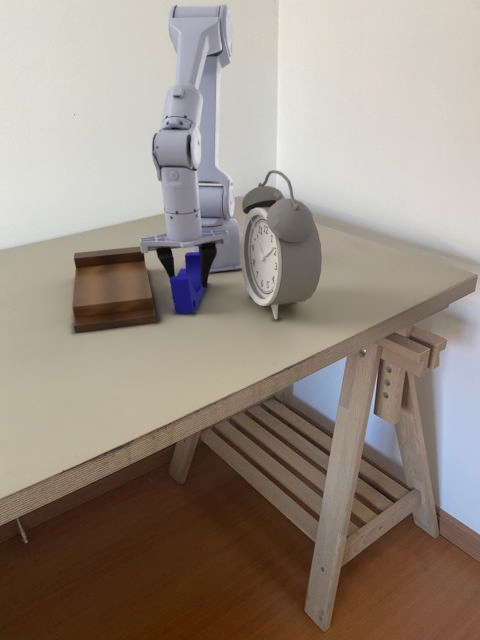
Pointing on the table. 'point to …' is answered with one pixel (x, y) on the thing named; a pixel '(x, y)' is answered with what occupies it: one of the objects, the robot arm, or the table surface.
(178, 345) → the table surface
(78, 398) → the table surface
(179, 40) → the robot arm
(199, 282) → the blue curved notched block
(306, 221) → the alarm clock
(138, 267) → the step shelf
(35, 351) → the table surface
